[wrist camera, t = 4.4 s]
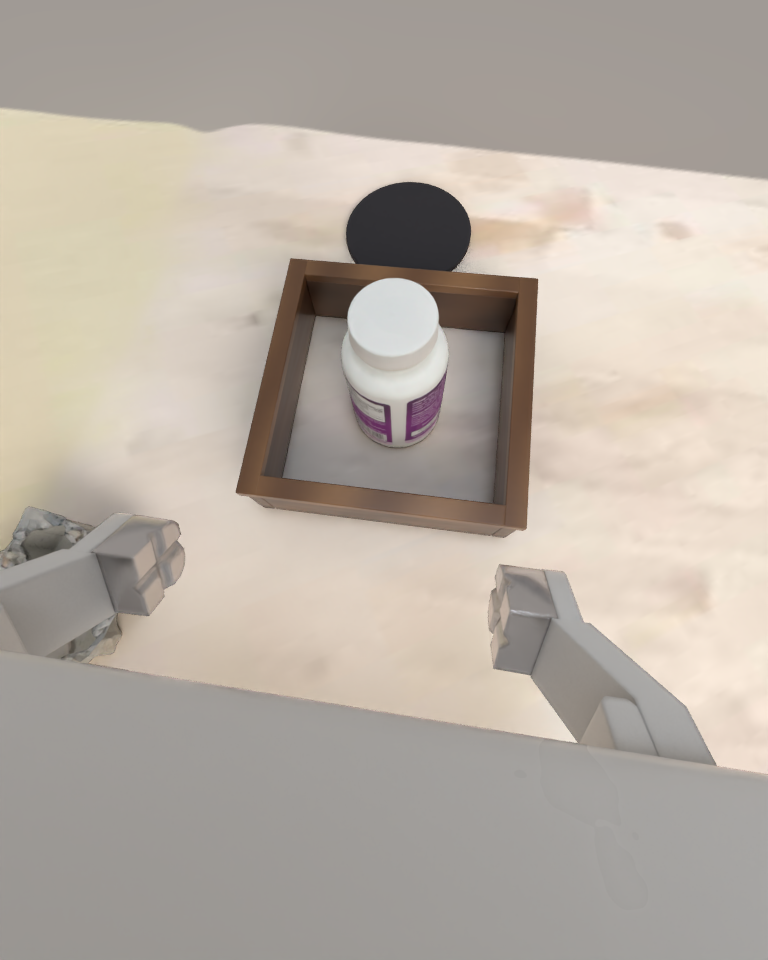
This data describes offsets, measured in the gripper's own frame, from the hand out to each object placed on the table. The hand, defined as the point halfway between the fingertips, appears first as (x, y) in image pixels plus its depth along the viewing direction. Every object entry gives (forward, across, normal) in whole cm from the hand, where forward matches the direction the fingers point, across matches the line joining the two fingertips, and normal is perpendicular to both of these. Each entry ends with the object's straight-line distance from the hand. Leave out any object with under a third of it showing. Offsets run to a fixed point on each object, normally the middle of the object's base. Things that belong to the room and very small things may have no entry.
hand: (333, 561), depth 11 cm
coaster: (+28, -1, +8) cm, 29 cm away
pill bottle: (+18, 0, -3) cm, 18 cm away
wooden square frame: (+18, 0, -2) cm, 18 cm away
